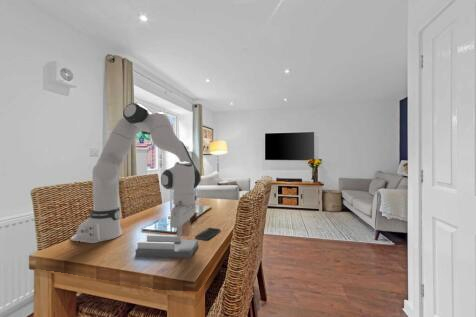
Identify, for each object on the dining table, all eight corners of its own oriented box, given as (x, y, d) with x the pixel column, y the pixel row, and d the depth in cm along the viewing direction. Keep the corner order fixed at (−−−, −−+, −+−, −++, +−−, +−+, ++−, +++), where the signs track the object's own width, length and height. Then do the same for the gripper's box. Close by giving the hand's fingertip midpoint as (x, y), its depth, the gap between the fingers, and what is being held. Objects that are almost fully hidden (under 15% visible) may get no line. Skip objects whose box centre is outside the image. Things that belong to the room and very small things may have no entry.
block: (176, 236, 88) (176, 226, 88) (179, 232, 93) (179, 222, 93) (188, 236, 88) (188, 226, 88) (190, 231, 93) (190, 222, 93)
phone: (194, 237, 105) (208, 227, 119) (194, 239, 105) (208, 229, 119) (208, 239, 102) (221, 229, 116) (208, 241, 102) (221, 231, 116)
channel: (135, 256, 86) (135, 244, 86) (149, 244, 98) (149, 233, 98) (190, 257, 85) (190, 245, 85) (197, 245, 97) (197, 234, 97)
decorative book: (197, 218, 140) (197, 211, 140) (188, 226, 124) (188, 217, 124) (180, 217, 142) (180, 210, 142) (170, 225, 126) (170, 217, 126)
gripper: (182, 204, 80) (181, 241, 80) (197, 195, 100) (197, 224, 100) (166, 204, 80) (165, 240, 80) (184, 195, 101) (184, 223, 101)
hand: (183, 231), depth 90 cm, fingers closed on block, 5 cm apart
